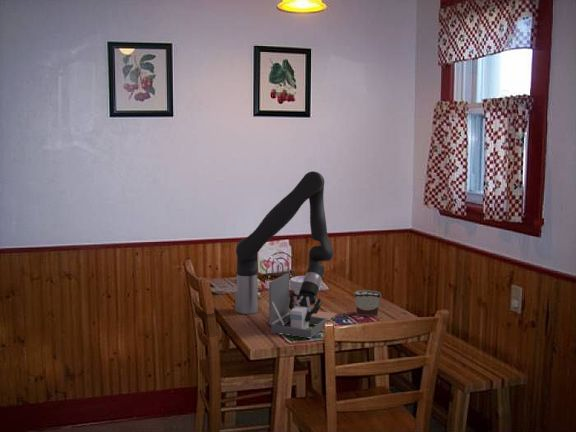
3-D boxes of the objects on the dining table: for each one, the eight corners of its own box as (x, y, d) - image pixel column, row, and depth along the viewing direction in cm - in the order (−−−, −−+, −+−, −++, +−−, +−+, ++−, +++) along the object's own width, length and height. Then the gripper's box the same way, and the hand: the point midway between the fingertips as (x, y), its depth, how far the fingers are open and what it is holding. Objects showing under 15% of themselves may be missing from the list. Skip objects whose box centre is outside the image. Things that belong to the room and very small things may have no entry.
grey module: (290, 331, 267) (290, 310, 266) (297, 326, 274) (297, 305, 273) (301, 333, 265) (301, 312, 264) (308, 328, 272) (308, 307, 270)
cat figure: (265, 302, 315) (264, 285, 340) (265, 285, 313) (264, 269, 338) (244, 302, 315) (245, 285, 339) (244, 285, 313) (244, 269, 337)
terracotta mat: (295, 320, 282) (295, 319, 282) (310, 310, 296) (310, 310, 296) (323, 324, 276) (323, 323, 276) (337, 314, 291) (337, 313, 291)
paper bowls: (302, 288, 335) (302, 273, 334) (326, 293, 326) (326, 278, 324) (283, 294, 324) (283, 279, 322) (307, 300, 314) (308, 284, 313)
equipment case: (269, 332, 266) (269, 282, 263) (287, 320, 282) (287, 273, 278) (311, 339, 258) (311, 287, 255) (327, 326, 274) (327, 277, 271)
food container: (380, 311, 295) (381, 290, 294) (381, 315, 289) (381, 293, 288) (353, 310, 296) (353, 289, 295) (353, 314, 290) (353, 293, 289)
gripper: (292, 278, 278) (280, 313, 269) (324, 282, 272) (313, 317, 263) (297, 288, 283) (286, 322, 274) (328, 291, 277) (318, 326, 269)
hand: (299, 319), depth 269 cm, fingers open, 5 cm apart
